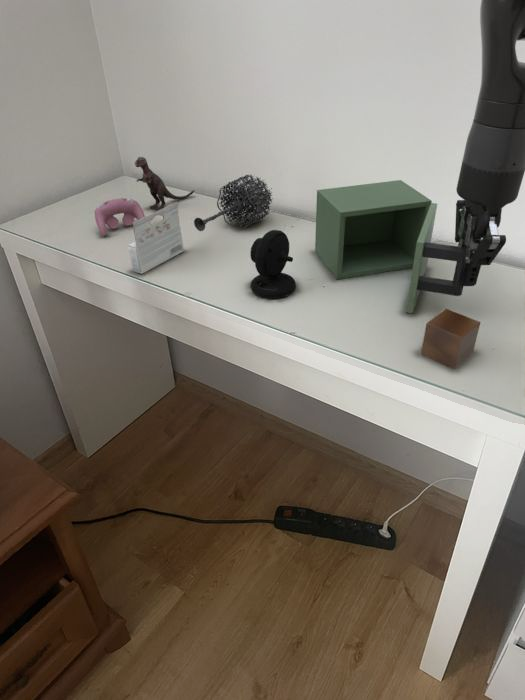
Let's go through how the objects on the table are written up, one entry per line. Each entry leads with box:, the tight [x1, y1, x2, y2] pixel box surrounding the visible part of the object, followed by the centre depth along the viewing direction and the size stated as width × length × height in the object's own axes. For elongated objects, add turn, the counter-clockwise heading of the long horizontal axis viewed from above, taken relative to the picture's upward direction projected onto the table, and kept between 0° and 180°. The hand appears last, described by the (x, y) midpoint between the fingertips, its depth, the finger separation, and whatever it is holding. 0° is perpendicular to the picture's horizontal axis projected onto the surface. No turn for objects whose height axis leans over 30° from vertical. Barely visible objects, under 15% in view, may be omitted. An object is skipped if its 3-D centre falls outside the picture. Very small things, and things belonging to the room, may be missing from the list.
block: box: [420, 308, 481, 370], centre depth 70 cm, size 5×5×5 cm
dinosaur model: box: [134, 156, 195, 212], centre depth 117 cm, size 4×12×15 cm
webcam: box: [250, 229, 297, 300], centre depth 85 cm, size 8×8×10 cm
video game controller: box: [94, 197, 146, 237], centre depth 109 cm, size 10×5×7 cm, turn 116°
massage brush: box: [193, 174, 274, 232], centre depth 106 cm, size 9×22×9 cm, turn 144°
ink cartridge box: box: [127, 201, 185, 275], centre depth 94 cm, size 2×11×10 cm, turn 145°
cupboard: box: [314, 179, 433, 280], centre depth 92 cm, size 11×16×12 cm
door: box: [405, 202, 467, 314], centre depth 81 cm, size 7×16×12 cm, turn 159°
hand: (464, 280), depth 76 cm, fingers closed on door, 2 cm apart
